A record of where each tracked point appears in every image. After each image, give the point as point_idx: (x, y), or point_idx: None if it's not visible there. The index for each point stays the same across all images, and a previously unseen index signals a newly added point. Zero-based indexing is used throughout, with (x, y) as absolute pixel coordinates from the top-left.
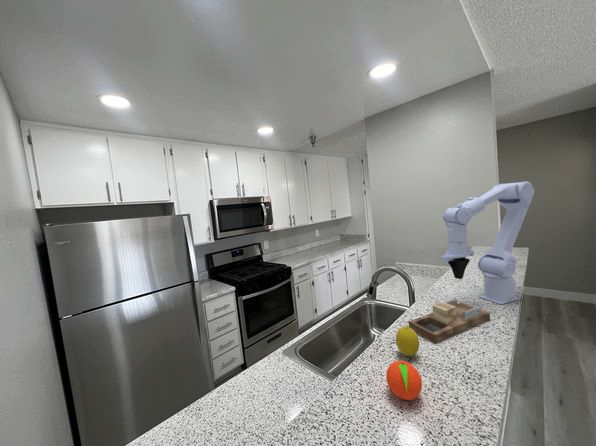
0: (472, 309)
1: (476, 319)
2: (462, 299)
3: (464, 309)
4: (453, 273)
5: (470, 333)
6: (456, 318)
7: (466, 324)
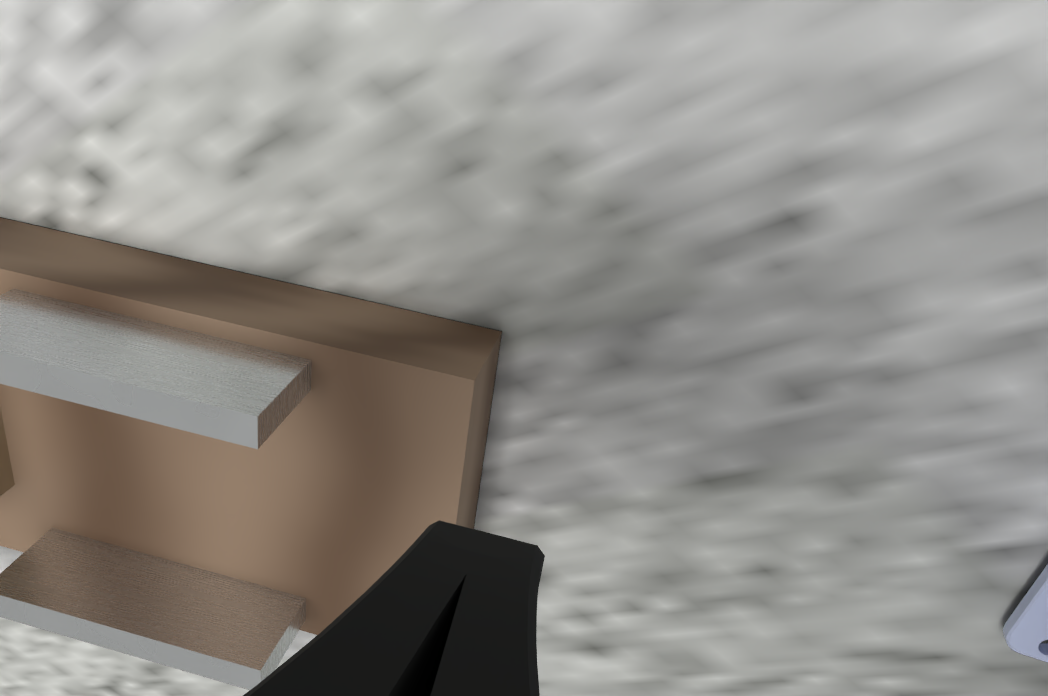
0: (131, 646)
1: None
2: (904, 215)
3: (294, 475)
4: (369, 591)
5: None
6: (4, 491)
7: None
